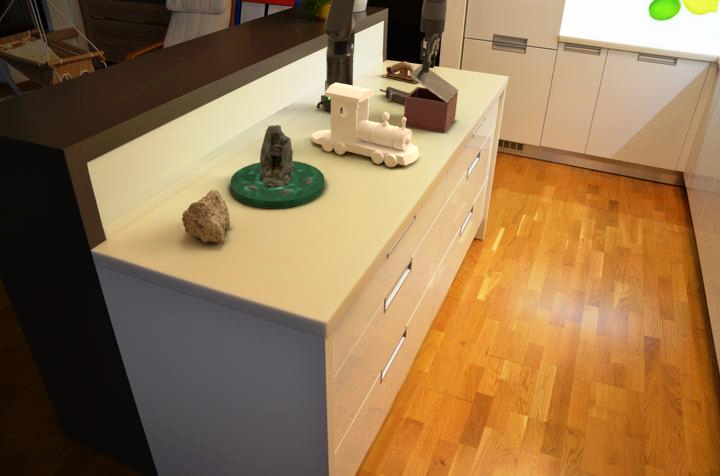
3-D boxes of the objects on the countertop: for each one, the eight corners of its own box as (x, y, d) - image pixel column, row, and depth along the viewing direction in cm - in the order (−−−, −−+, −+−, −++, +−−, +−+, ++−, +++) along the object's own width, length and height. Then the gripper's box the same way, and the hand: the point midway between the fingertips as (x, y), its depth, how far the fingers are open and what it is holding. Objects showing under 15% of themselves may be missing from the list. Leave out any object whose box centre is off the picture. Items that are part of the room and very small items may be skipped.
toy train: (405, 171, 170) (410, 106, 160) (302, 145, 184) (301, 84, 174) (423, 157, 179) (429, 94, 169) (324, 133, 193) (324, 74, 184)
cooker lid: (408, 75, 192) (417, 60, 189) (421, 66, 202) (429, 51, 199) (447, 103, 192) (456, 88, 188) (457, 92, 202) (466, 78, 198)
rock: (167, 214, 132) (199, 198, 128) (198, 195, 143) (228, 179, 139) (193, 256, 135) (225, 242, 130) (221, 234, 146) (252, 220, 141)
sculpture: (389, 73, 255) (390, 56, 251) (423, 80, 248) (424, 62, 244) (381, 77, 250) (382, 60, 246) (415, 84, 243) (417, 66, 239)
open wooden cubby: (403, 126, 201) (405, 97, 196) (415, 114, 211) (417, 86, 206) (444, 132, 197) (447, 103, 192) (454, 120, 207) (457, 92, 202)
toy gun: (463, 110, 218) (437, 119, 208) (397, 89, 236) (371, 96, 227) (464, 100, 216) (438, 109, 207) (398, 80, 234) (371, 87, 225)
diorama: (217, 203, 150) (211, 147, 143) (247, 163, 172) (243, 113, 164) (313, 212, 148) (312, 155, 140) (332, 170, 169) (332, 119, 161)
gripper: (428, 10, 194) (423, 63, 202) (415, 18, 182) (409, 73, 191) (451, 13, 191) (444, 66, 200) (438, 21, 180) (432, 77, 189)
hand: (427, 69), depth 195 cm, fingers closed on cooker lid, 5 cm apart
